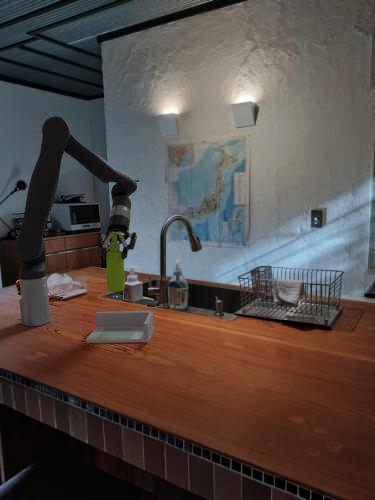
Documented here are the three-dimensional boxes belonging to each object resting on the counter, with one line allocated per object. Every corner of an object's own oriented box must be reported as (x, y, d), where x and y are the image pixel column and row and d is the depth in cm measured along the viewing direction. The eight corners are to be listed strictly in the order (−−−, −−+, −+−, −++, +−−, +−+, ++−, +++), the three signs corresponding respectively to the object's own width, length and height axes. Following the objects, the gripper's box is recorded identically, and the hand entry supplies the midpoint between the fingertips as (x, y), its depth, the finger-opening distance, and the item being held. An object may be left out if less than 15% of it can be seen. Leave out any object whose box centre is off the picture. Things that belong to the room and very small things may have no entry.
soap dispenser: (118, 293, 130) (116, 233, 126) (103, 289, 134) (101, 232, 130) (130, 289, 134) (128, 232, 131) (116, 286, 138) (114, 230, 135)
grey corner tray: (85, 342, 122) (84, 324, 122) (97, 328, 135) (96, 312, 134) (148, 342, 121) (147, 323, 120) (154, 327, 134) (153, 311, 133)
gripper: (97, 214, 138) (90, 252, 128) (137, 213, 137) (133, 251, 127) (102, 227, 144) (95, 265, 134) (140, 226, 143) (136, 264, 133)
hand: (113, 258), depth 130 cm, fingers closed on soap dispenser, 6 cm apart
